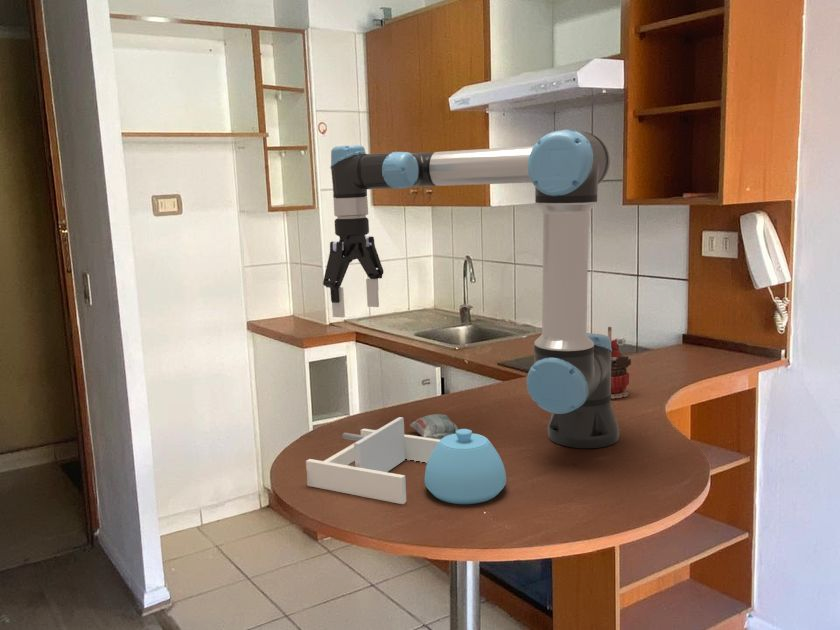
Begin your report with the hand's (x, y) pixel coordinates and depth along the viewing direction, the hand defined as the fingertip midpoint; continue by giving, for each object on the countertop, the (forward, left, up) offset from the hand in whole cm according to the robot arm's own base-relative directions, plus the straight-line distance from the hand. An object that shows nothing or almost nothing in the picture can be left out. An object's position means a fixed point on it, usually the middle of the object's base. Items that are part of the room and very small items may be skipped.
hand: (356, 311), depth 174 cm
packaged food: (-18, -1, -28) cm, 34 cm away
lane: (-19, +22, -28) cm, 40 cm away
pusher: (-15, +22, -27) cm, 38 cm away
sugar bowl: (-37, +22, -28) cm, 51 cm away
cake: (-45, -47, -28) cm, 71 cm away
